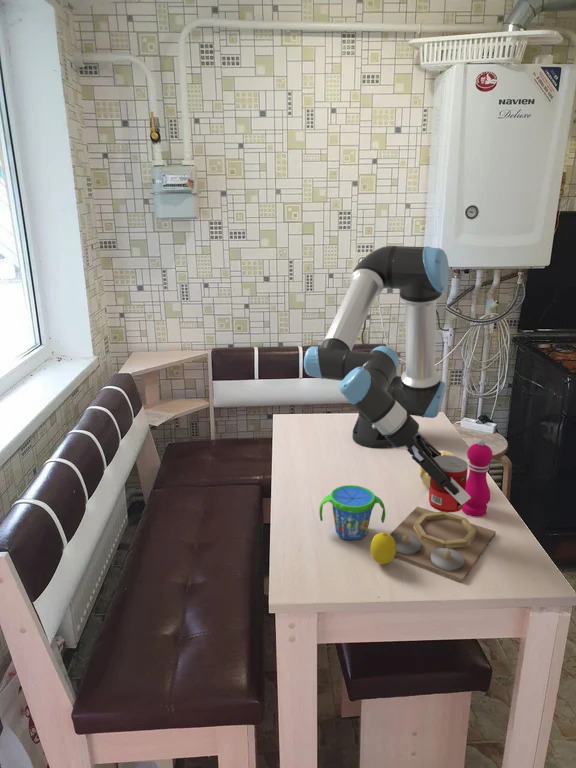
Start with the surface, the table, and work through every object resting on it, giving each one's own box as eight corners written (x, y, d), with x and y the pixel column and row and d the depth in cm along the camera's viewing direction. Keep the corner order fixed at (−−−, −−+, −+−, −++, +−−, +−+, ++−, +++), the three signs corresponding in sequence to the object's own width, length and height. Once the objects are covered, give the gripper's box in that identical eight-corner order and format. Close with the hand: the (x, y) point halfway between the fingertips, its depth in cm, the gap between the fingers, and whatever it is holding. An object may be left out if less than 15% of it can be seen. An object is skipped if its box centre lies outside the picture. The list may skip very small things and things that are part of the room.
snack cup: (384, 523, 146) (386, 486, 143) (384, 548, 136) (386, 509, 133) (321, 518, 148) (321, 482, 145) (316, 542, 139) (317, 504, 135)
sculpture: (414, 492, 161) (416, 456, 157) (424, 473, 171) (426, 439, 168) (457, 501, 156) (460, 464, 153) (464, 481, 167) (468, 446, 163)
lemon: (399, 563, 131) (401, 532, 128) (386, 575, 127) (387, 543, 124) (378, 553, 134) (380, 522, 132) (364, 564, 130) (366, 533, 128)
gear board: (417, 509, 152) (418, 497, 151) (495, 535, 141) (496, 522, 140) (377, 550, 135) (377, 537, 134) (462, 583, 124) (463, 568, 123)
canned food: (464, 515, 134) (469, 471, 130) (428, 511, 135) (432, 467, 132) (462, 498, 141) (466, 456, 138) (428, 495, 143) (431, 453, 139)
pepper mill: (453, 509, 152) (460, 438, 146) (469, 500, 156) (477, 430, 150) (478, 521, 147) (486, 447, 140) (494, 511, 151) (502, 439, 145)
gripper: (381, 418, 144) (443, 480, 148) (385, 454, 125) (457, 525, 128) (404, 398, 142) (467, 462, 145) (412, 431, 122) (485, 504, 126)
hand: (462, 491), depth 137 cm, fingers closed on canned food, 8 cm apart
